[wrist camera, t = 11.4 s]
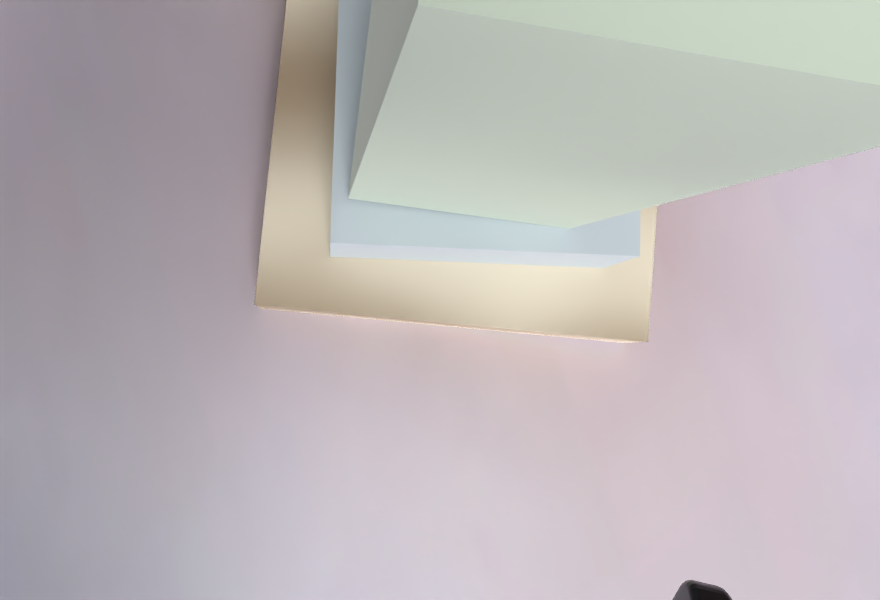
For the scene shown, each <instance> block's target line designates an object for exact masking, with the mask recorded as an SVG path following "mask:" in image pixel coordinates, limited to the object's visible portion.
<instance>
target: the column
mask: <svg viewBox="0 0 880 600" xmlns="http://www.w3.org/2000/svg"><path fill="white" fill-rule="evenodd" d="M877 147H880V0H372V2H371V11H370V19H369V27H368V36H367V44H366V52H365V61H364V69H363V77H362V86H361V94H360V102H359V111H358V119H357V127H356V136H355V144H354V153H353V161H352V169H351V178H350V186H349V194H348V199H355V200H362V201H369V202H377V203H384V204H391V205H399V206H406V207H413V208H421V209H428V210H435V211H442V212H450V213H457V214H464V215H472V216H479V217H486V218H494V219H501V220H508V221H516V222H523V223H530V224H537V225H545V226H552V227H560V228H567V229H570V228H574V227H578V226H582V225H585V224H589V223H593V222H597V221H601V220H604V219H608V218H612V217H616V216H619V215H623V214H627V213H631V212H635V211H638V210H642V209H646V208H650V207H653V206H657V205H661V204H665V203H669V202H672V201H676V200H680V199H684V198H688V197H691V196H695V195H699V194H703V193H706V192H710V191H714V190H718V189H722V188H725V187H729V186H733V185H737V184H740V183H744V182H748V181H752V180H756V179H759V178H763V177H767V176H771V175H775V174H778V173H782V172H786V171H790V170H793V169H797V168H801V167H805V166H809V165H812V164H816V163H820V162H824V161H827V160H831V159H835V158H839V157H843V156H846V155H850V154H854V153H858V152H862V151H865V150H869V149H873V148H877Z"/></svg>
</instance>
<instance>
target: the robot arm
mask: <svg viewBox="0 0 880 600" xmlns="http://www.w3.org/2000/svg"><path fill="white" fill-rule="evenodd" d="M673 600H732V599H731V597H730V596H729V594H728V593H727V592H726V591H725V590H724V589H722V588H721V587H718V586H715V585H711V584H707V583H702V582H698V581H694V580H687V581H685V582H684V583H682V585H681V586H680V587H679V589H678V591H677V593H676V595H675V596H674V598H673Z"/></svg>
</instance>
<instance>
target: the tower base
mask: <svg viewBox="0 0 880 600" xmlns="http://www.w3.org/2000/svg"><path fill="white" fill-rule="evenodd" d="M338 9H339V0H287V2H286V11H285V20H284V30H283V39H282V49H281V58H280V68H279V77H278V86H277V96H276V105H275V115H274V124H273V133H272V143H271V152H270V162H269V171H268V180H267V190H266V199H265V209H264V218H263V228H262V237H261V246H260V256H259V265H258V275H257V284H256V293H255V303H254V305H256V306H257V307H259V308H260V309H270V310H281V311H292V312H302V313H313V314H323V315H334V316H345V317H355V318H366V319H376V320H387V321H398V322H408V323H419V324H429V325H440V326H451V327H461V328H472V329H482V330H493V331H504V332H514V333H525V334H535V335H546V336H557V337H567V338H578V339H588V340H599V341H610V342H620V343H633V342H648V334H649V319H650V304H651V289H652V274H653V260H654V245H655V230H656V215H657V206H653V207H650V208H646V209H642V210H640V256H639V257H636V258H633V259H630V260H627V261H624V262H621V263H618V264H615V265H612V266H609V267H606V268H590V267H566V266H542V265H518V264H494V263H470V262H446V261H422V260H398V259H374V258H350V257H330V232H331V204H332V176H333V148H334V120H335V92H336V64H337V37H338Z"/></svg>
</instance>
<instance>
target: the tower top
mask: <svg viewBox="0 0 880 600" xmlns="http://www.w3.org/2000/svg"><path fill="white" fill-rule="evenodd" d="M371 2H372V0H339V9H338V37H337V64H336V92H335V120H334V148H333V176H332V204H331V232H330V257H350V258H374V259H398V260H422V261H446V262H470V263H494V264H518V265H542V266H566V267H590V268H606V267H609V266H612V265H615V264H618V263H621V262H624V261H627V260H630V259H633V258H636V257H639V256H640V210H638V211H635V212H631V213H627V214H623V215H619V216H616V217H612V218H608V219H604V220H601V221H597V222H593V223H589V224H585V225H582V226H578V227H574V228H570V229H567V228H560V227H552V226H545V225H537V224H530V223H523V222H516V221H508V220H501V219H494V218H486V217H479V216H472V215H464V214H457V213H450V212H442V211H435V210H428V209H421V208H413V207H406V206H399V205H391V204H384V203H377V202H369V201H362V200H355V199H348V194H349V186H350V178H351V169H352V161H353V153H354V144H355V136H356V127H357V119H358V111H359V102H360V94H361V86H362V77H363V69H364V61H365V52H366V44H367V36H368V27H369V19H370V11H371Z"/></svg>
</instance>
